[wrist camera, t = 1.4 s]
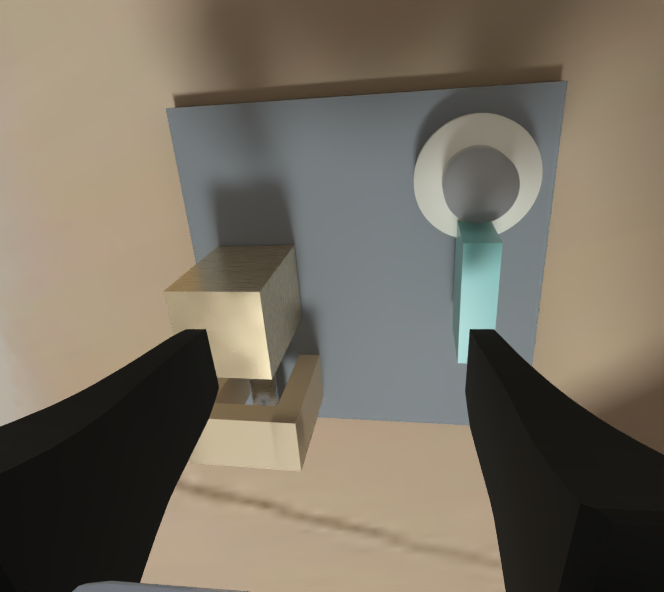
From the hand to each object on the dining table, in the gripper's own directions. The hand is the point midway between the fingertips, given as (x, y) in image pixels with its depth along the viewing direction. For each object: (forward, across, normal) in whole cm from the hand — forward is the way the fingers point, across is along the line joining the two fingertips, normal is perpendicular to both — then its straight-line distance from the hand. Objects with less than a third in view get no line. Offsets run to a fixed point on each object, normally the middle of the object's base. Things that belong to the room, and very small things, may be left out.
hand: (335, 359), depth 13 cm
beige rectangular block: (+8, +4, +4) cm, 10 cm away
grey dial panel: (+9, 0, +2) cm, 9 cm away
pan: (+7, -5, -1) cm, 9 cm away
